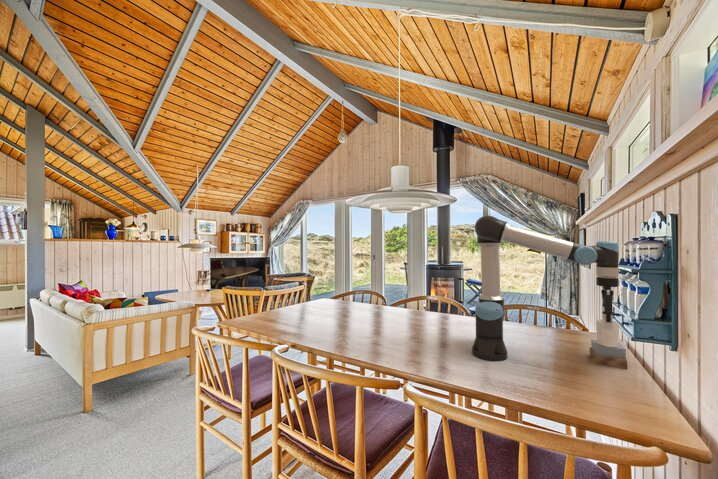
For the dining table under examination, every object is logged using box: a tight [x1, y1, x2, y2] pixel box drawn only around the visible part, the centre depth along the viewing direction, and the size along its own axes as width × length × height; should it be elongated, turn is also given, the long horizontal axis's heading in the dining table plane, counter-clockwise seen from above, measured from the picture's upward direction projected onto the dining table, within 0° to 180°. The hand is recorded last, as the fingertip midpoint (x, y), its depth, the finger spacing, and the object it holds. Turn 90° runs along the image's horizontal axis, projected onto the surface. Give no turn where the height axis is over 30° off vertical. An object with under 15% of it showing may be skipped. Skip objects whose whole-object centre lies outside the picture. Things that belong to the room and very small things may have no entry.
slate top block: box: [590, 338, 627, 359], centre depth 136 cm, size 10×10×4 cm
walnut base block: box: [589, 346, 628, 370], centre depth 136 cm, size 12×12×4 cm
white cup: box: [595, 318, 620, 347], centre depth 135 cm, size 8×8×10 cm
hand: (607, 326), depth 135 cm, fingers open, 13 cm apart
